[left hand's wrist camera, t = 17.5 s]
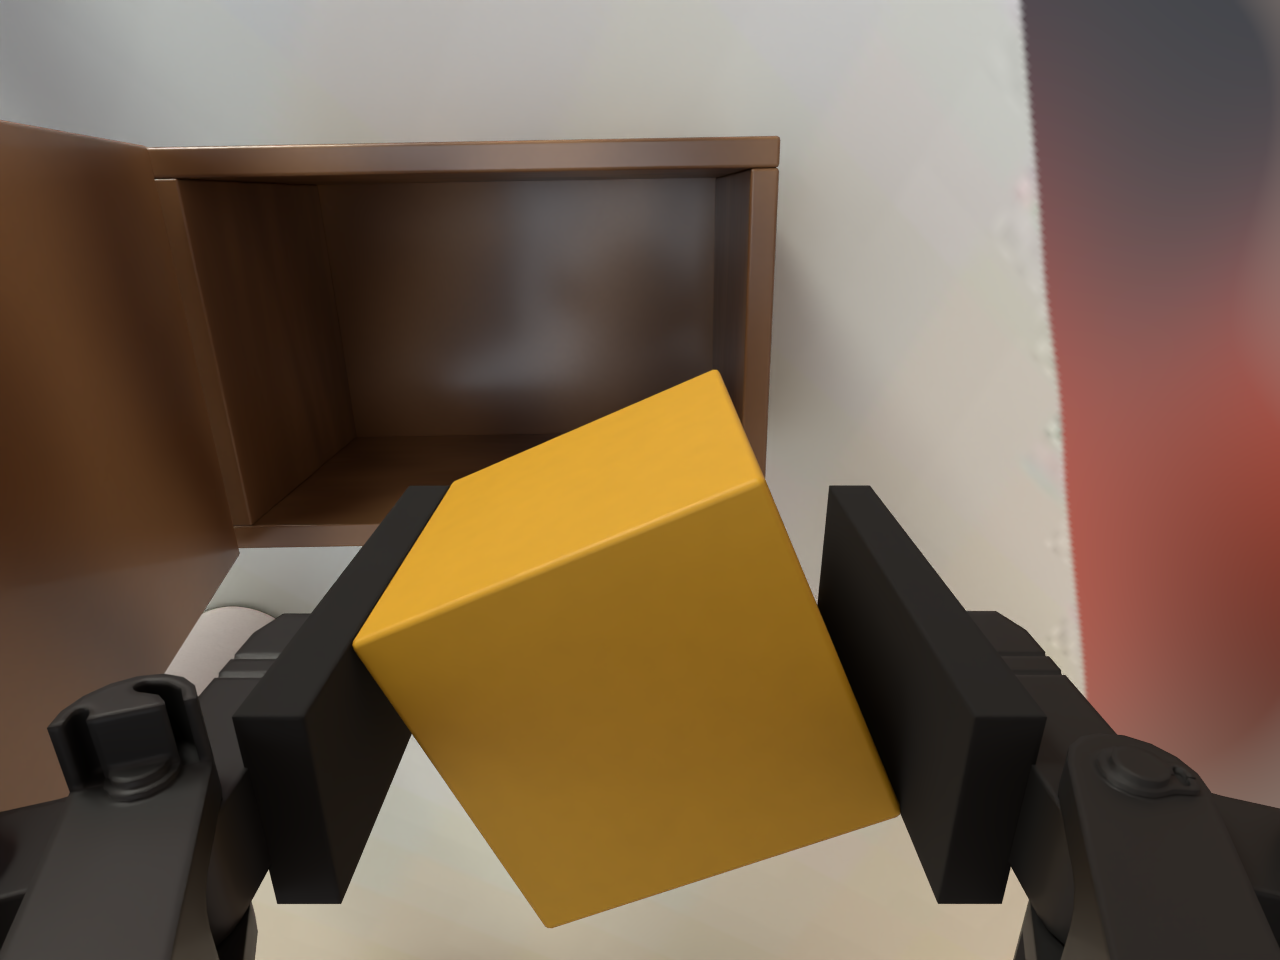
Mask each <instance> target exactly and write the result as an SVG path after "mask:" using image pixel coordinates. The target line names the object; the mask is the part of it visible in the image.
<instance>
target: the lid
mask: <svg viewBox="0 0 1280 960" xmlns="http://www.w3.org/2000/svg"><path fill="white" fill-rule="evenodd" d="M238 556H239V549H238V544H237V540H236V535H235V531H234V527H233V522H232V518H231V513H230V509H229V505H228V500H227V496H226V491H225V487H224V482H223V478H222V474H221V469H220V465H219V460H218V456H217V452H216V447H215V443H214V438H213V434H212V430H211V425H210V421H209V416H208V412H207V408H206V403H205V399H204V394H203V390H202V386H201V381H200V377H199V372H198V368H197V364H196V359H195V355H194V350H193V346H192V342H191V337H190V333H189V328H188V324H187V320H186V315H185V311H184V306H183V302H182V298H181V293H180V289H179V284H178V280H177V276H176V271H175V267H174V262H173V258H172V254H171V249H170V245H169V240H168V236H167V232H166V227H165V223H164V218H163V214H162V210H161V205H160V201H159V196H158V192H157V188H156V183H155V179H154V174H153V170H152V166H151V161H150V157H149V152H148V149H147V148H146V147H145V146H142V145H137V144H131V143H126V142H120V141H114V140H109V139H103V138H98V137H92V136H87V135H81V134H75V133H70V132H64V131H59V130H53V129H48V128H42V127H36V126H31V125H25V124H20V123H14V122H9V121H3V120H0V812H2V811H7V810H11V809H16V808H20V807H25V806H30V805H34V804H39V803H43V802H48V801H52V800H57V799H61V798H64V797H68V795H69V793H70V792H69V789H68V786H67V783H66V781H65V778H64V775H63V772H62V769H61V767H60V764H59V761H58V758H57V755H56V753H55V750H54V747H53V744H52V741H51V739H50V736H49V733H48V730H47V727H48V726H49V725H50V723H51V722H52V721H53V720H54V719H55V718H56V716H57V715H58V714H59V713H60V712H61V711H62V710H63V709H65V708H66V707H68V706H69V705H71V704H72V703H74V702H75V701H77V700H78V699H79V698H81V697H82V696H84V695H86V694H89V693H91V692H93V691H95V690H97V689H100V688H102V687H104V686H106V685H109V684H111V683H115V682H118V681H122V680H126V679H129V678H133V677H136V676H143V675H154V674H164V673H165V672H166V670H167V669H168V667H169V665H170V664H171V662H172V661H173V659H174V658H175V656H176V654H177V653H178V651H179V650H180V648H181V646H182V645H183V643H184V642H185V640H186V639H187V637H188V635H189V634H190V632H191V631H192V629H193V627H194V626H195V624H196V623H197V621H198V619H199V618H200V616H201V615H202V613H203V612H204V610H205V608H206V607H207V605H208V604H209V602H210V600H211V599H212V597H213V596H214V594H215V592H216V591H217V589H218V588H219V586H220V585H221V583H222V581H223V580H224V578H225V577H226V575H227V573H228V572H229V570H230V569H231V567H232V566H233V564H234V562H235V561H236V559H237V558H238Z"/></svg>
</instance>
